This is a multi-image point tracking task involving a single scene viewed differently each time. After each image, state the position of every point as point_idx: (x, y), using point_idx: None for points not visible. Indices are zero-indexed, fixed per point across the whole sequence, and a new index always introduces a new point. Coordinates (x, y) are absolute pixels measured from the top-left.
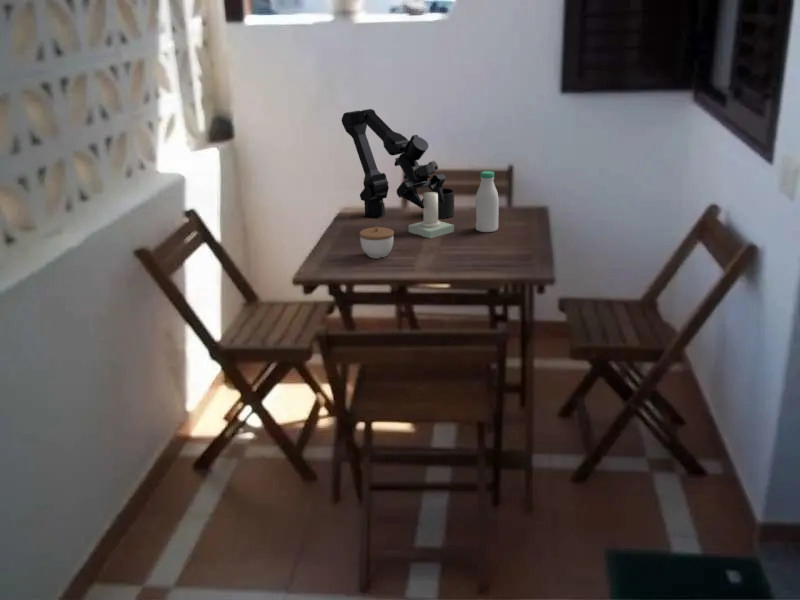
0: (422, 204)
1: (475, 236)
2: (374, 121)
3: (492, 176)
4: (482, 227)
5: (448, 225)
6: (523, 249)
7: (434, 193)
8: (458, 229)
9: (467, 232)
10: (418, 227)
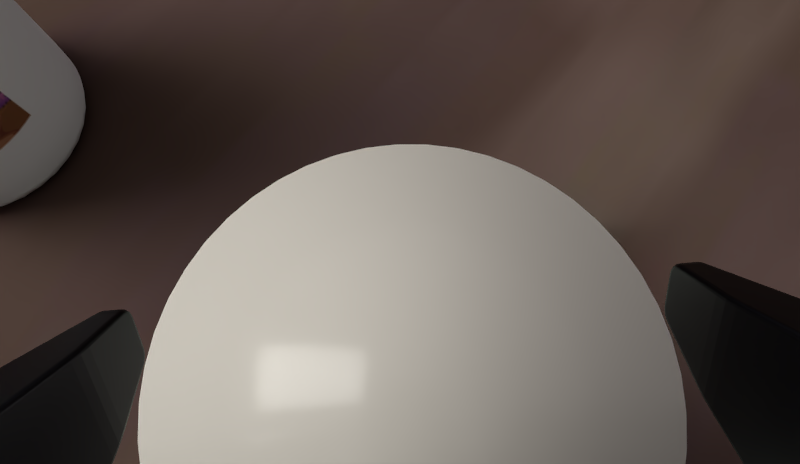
0: (735, 281)
1: (217, 41)
2: None
3: None
4: (63, 59)
5: None
6: None
7: (288, 311)
8: (155, 289)
9: (174, 163)
10: None
